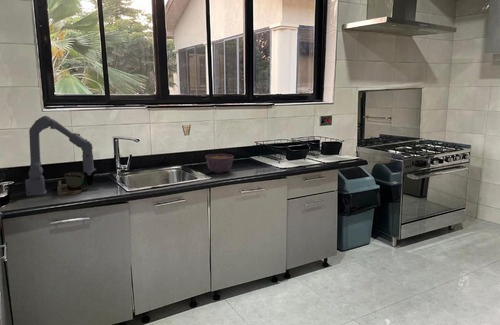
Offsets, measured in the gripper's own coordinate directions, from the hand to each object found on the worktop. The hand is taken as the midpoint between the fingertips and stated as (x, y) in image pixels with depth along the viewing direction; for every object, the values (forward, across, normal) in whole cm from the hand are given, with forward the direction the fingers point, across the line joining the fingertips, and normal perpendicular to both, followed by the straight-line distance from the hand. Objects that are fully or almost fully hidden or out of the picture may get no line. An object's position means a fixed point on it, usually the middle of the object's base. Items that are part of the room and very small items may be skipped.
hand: (90, 184), depth 221 cm
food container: (+3, 0, +7) cm, 7 cm away
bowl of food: (+2, +8, -85) cm, 85 cm away
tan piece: (+2, 0, +11) cm, 11 cm away
